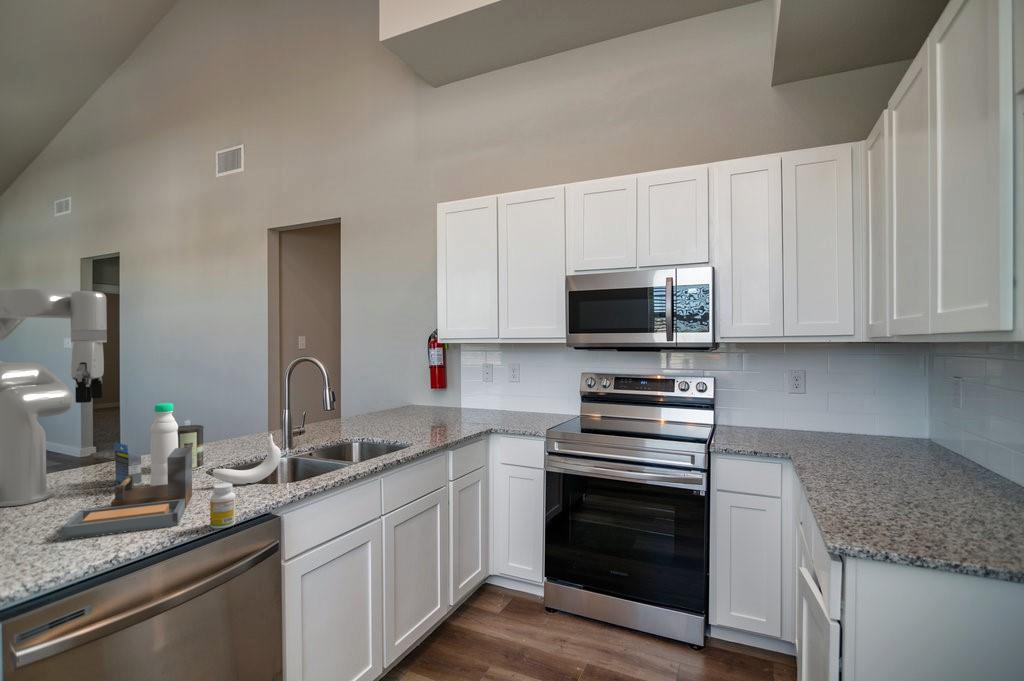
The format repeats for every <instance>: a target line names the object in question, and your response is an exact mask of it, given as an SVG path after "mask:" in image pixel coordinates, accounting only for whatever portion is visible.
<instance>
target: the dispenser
mask: <svg viewBox="0 0 1024 681" xmlns="http://www.w3.org/2000/svg"><path fill="white" fill-rule="evenodd" d="M167 466H168V484H165V485H156V486H151V485H148V486H147V485H145V486H137V487H134V484H133V476H126V477H125V480H124V481H123V482H122V483H120V484H117V485H116V486H115V487H114V498H113V499H112V500H111V502H110V507H116V506H125V505H133V504H142V503H151V502H160V501H169V500H178V499H185V510H186V509H187V507H188V505H189V503H190V501H191V499H192V497H193V471H192V447H185V448H175V449H174V450H173V452H172V453H171V454H170V455H169V456H168V458H167Z"/></svg>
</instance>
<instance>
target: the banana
mask: <svg viewBox="0 0 1024 681" xmlns="http://www.w3.org/2000/svg"><path fill="white" fill-rule="evenodd" d="M265 441H266V442H267V444H268V446H269V447H268V452H267V453H266V454H267V455H266V456H265V459H264V460H263V461H262V462H261V463H259V464H258V465H257V466H255V467H253V468H250V469H244V470H243V469H242V470H241V469H240V470H239V469H232V468H215V469H213V471H212V475H213V477H215V478H216V479H218V480H220V481H223V482H224V483H231V484H233V485H247V484H246V483H251V484H255V483H258V482H260V481H262V480H264V479H266V478H268V476H270V475H271V474H272V473H273V472H274V471H275V470H276V469H277V467H278V465H279V464H280V461H281V456H282V450H280V448H279V447H278V446H277V445H276V444H275V443H274V441H273V435H272V433H271V432H269V434H268V436H267V438H266V439H265Z"/></svg>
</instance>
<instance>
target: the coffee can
mask: <svg viewBox="0 0 1024 681" xmlns="http://www.w3.org/2000/svg"><path fill="white" fill-rule="evenodd" d="M204 429H205V428H204V425H201V424H200V425H199V424H192V425H190V424H188V425H178V430H177V433H178V448H185V447H192V470H194V471H197V470H196V469H198V470H200V469H199V468H201V469H203V468H204V466H205V465H204ZM202 467H203V468H202Z"/></svg>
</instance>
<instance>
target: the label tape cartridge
mask: <svg viewBox="0 0 1024 681" xmlns="http://www.w3.org/2000/svg"><path fill="white" fill-rule="evenodd" d="M121 448H123V449H121ZM128 448H129V447H128V445H127V444H124V443H119V442H117V441H116V442H115V441H114V453H115V455H114V456H115V458H114V459H115V460H114V461H115V462H114V463H115V468H114V469H115V482H117V481H118V483H120V482H121V483H122V482H123V481H124V480H125V477H126V476H133V485H134V483H137V484H140V483H139V482H141V483H142V456H141V455H138V454H135V453H131V452H129V449H128ZM121 483H120V484H121Z"/></svg>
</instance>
